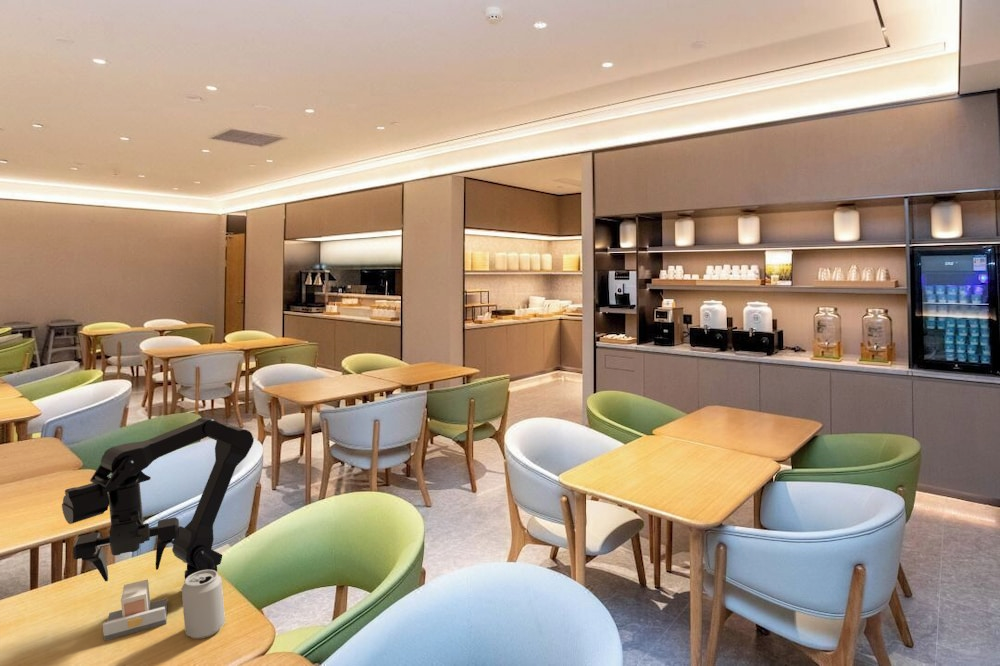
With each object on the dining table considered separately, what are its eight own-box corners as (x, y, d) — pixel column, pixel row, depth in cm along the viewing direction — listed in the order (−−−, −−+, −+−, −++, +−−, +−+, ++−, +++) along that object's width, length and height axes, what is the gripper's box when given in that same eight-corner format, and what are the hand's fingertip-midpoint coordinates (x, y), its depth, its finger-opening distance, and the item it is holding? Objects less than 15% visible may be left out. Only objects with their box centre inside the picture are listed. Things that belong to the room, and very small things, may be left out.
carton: (126, 610, 126) (124, 585, 125) (150, 604, 128) (147, 579, 127) (123, 627, 120) (120, 600, 119) (148, 620, 122) (146, 594, 121)
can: (209, 643, 116) (204, 588, 114) (177, 639, 117) (171, 584, 116) (233, 620, 123) (228, 568, 121) (202, 616, 124) (198, 565, 123)
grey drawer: (167, 602, 130) (166, 588, 130) (165, 624, 122) (164, 609, 121) (109, 617, 125) (108, 602, 124) (104, 641, 117) (102, 625, 116)
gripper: (63, 531, 109) (72, 607, 111) (175, 510, 118) (181, 580, 120) (74, 509, 119) (81, 579, 121) (176, 491, 128) (182, 557, 130)
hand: (132, 574), depth 122 cm, fingers open, 9 cm apart
